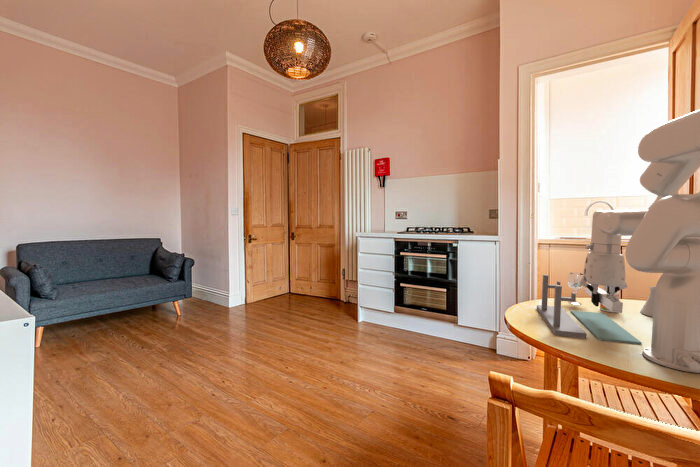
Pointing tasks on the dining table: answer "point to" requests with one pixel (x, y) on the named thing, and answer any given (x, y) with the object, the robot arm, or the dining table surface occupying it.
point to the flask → (649, 303)
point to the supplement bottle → (613, 296)
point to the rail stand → (558, 312)
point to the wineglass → (575, 284)
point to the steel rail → (607, 300)
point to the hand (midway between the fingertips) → (601, 305)
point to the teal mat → (604, 327)
